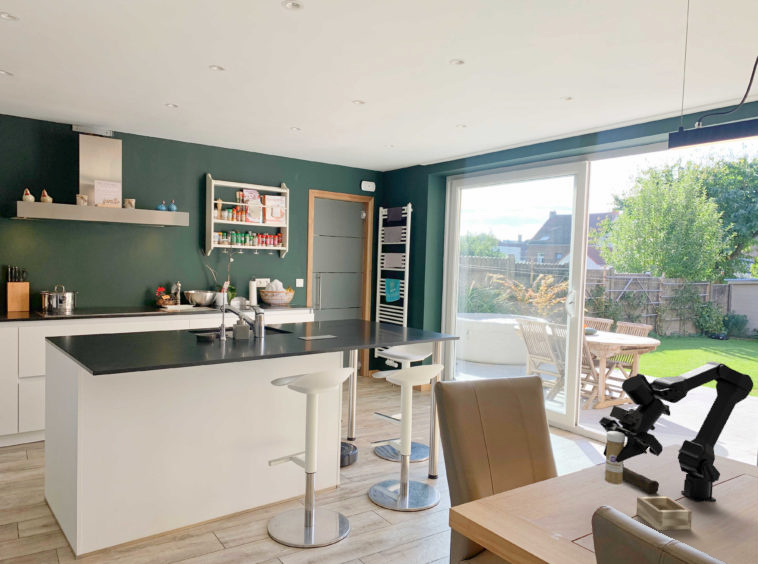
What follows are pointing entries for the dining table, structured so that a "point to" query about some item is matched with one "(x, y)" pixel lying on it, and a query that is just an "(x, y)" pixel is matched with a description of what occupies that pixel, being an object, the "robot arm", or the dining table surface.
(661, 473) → the dining table surface
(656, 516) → the beech holder
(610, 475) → the sprinkles bottle
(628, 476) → the hand tool
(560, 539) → the dining table surface
